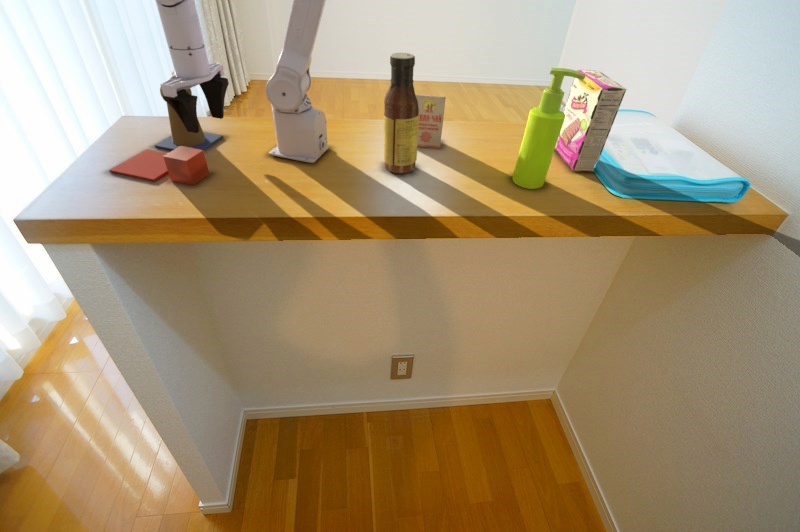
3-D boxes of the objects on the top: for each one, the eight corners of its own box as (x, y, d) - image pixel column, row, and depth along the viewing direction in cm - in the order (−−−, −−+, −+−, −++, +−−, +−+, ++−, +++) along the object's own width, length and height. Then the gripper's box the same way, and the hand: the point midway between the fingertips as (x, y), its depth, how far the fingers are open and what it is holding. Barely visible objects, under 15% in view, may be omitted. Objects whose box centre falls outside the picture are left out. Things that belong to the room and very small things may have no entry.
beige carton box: (408, 138, 91) (412, 91, 84) (439, 140, 91) (445, 94, 84) (408, 145, 88) (411, 97, 81) (439, 148, 88) (445, 100, 81)
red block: (209, 173, 74) (203, 149, 71) (193, 185, 70) (186, 161, 67) (187, 169, 74) (180, 145, 72) (170, 180, 71) (162, 156, 68)
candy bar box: (550, 148, 91) (575, 68, 81) (572, 148, 92) (599, 69, 81) (571, 172, 83) (602, 87, 72) (595, 172, 83) (629, 88, 73)
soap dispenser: (547, 193, 76) (586, 77, 63) (510, 184, 77) (539, 70, 64) (550, 179, 80) (586, 68, 67) (514, 171, 82) (543, 62, 69)
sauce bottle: (420, 165, 81) (431, 54, 68) (407, 178, 77) (416, 63, 64) (390, 157, 83) (395, 48, 70) (376, 169, 79) (378, 55, 66)
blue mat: (223, 137, 85) (222, 135, 85) (195, 155, 79) (194, 153, 78) (185, 130, 87) (184, 128, 87) (154, 147, 80) (154, 145, 80)
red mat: (188, 159, 77) (188, 157, 77) (154, 181, 70) (153, 179, 70) (147, 151, 79) (146, 149, 78) (109, 172, 72) (109, 169, 72)
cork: (194, 148, 80) (178, 89, 73) (166, 144, 81) (147, 85, 73) (211, 136, 85) (197, 79, 77) (184, 132, 85) (168, 75, 78)
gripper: (193, 34, 77) (210, 108, 85) (134, 52, 66) (161, 135, 74) (227, 39, 75) (241, 114, 84) (173, 58, 64) (195, 141, 73)
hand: (206, 124), depth 79 cm, fingers open, 7 cm apart
